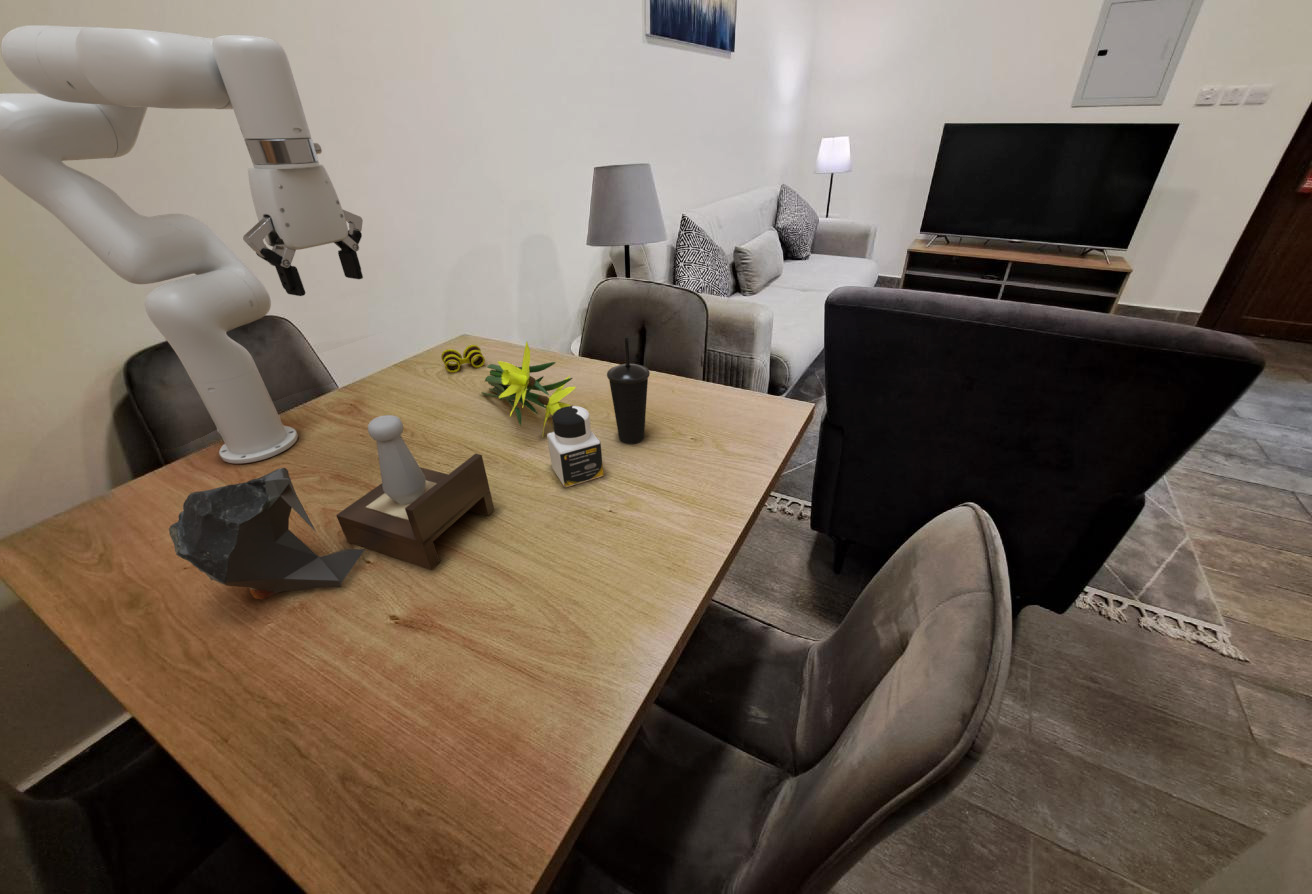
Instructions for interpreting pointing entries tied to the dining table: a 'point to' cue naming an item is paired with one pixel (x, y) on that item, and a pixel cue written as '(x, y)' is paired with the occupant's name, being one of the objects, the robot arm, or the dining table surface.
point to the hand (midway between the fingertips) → (326, 285)
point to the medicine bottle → (574, 447)
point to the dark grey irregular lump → (255, 539)
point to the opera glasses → (468, 357)
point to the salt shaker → (396, 461)
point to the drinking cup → (629, 398)
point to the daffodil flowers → (526, 386)
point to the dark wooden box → (418, 514)
